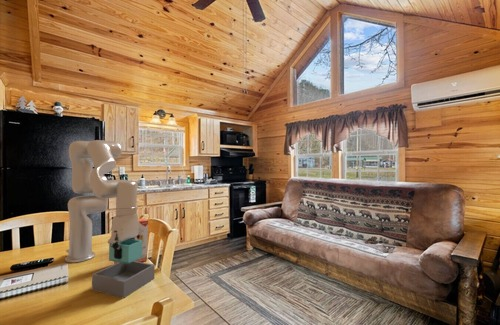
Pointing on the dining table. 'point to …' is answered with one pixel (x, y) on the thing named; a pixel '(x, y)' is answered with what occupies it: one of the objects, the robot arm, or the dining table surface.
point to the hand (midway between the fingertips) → (125, 254)
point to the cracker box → (143, 239)
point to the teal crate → (127, 251)
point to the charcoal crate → (123, 278)
